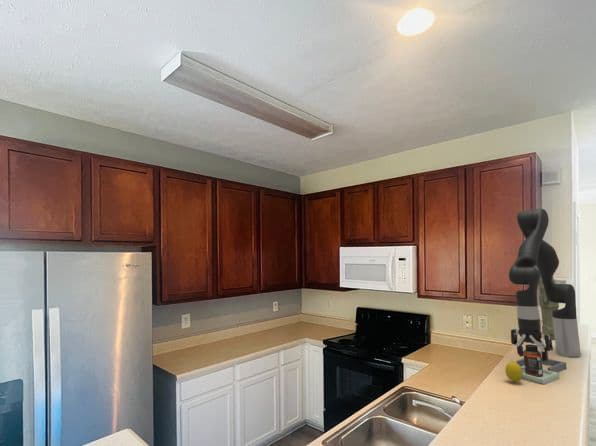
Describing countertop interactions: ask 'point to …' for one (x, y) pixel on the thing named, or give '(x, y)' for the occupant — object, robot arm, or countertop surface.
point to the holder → (555, 365)
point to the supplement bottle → (533, 361)
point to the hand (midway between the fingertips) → (532, 358)
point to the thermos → (547, 311)
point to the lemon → (513, 371)
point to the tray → (546, 378)
